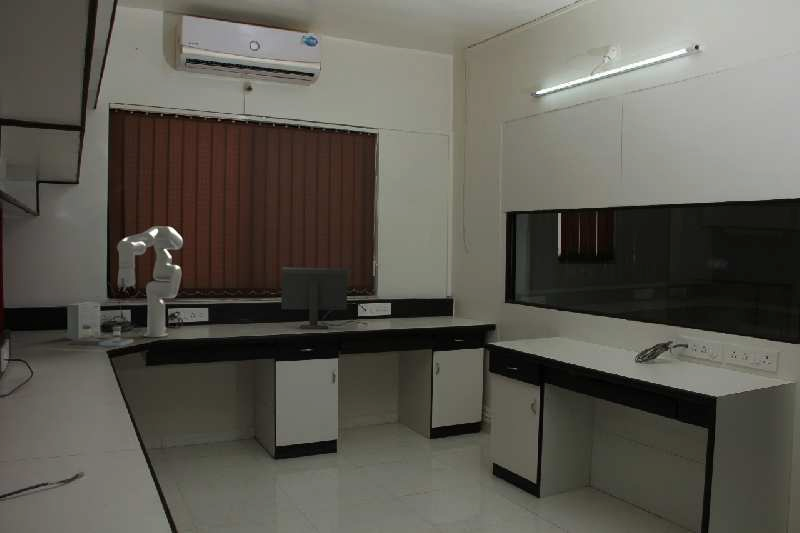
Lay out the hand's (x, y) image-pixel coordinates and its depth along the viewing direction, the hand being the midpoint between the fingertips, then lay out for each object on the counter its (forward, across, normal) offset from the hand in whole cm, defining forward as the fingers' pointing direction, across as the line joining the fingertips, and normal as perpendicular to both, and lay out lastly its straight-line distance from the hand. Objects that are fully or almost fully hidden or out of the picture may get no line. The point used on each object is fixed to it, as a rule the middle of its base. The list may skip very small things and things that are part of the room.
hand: (127, 297), depth 328 cm
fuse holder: (+25, +4, -16) cm, 30 cm away
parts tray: (+24, +7, -2) cm, 25 cm away
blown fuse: (+24, +7, -2) cm, 25 cm away
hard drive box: (+25, -10, -30) cm, 41 cm away
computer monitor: (+29, -93, +81) cm, 127 cm away
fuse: (+24, +4, -20) cm, 31 cm away
